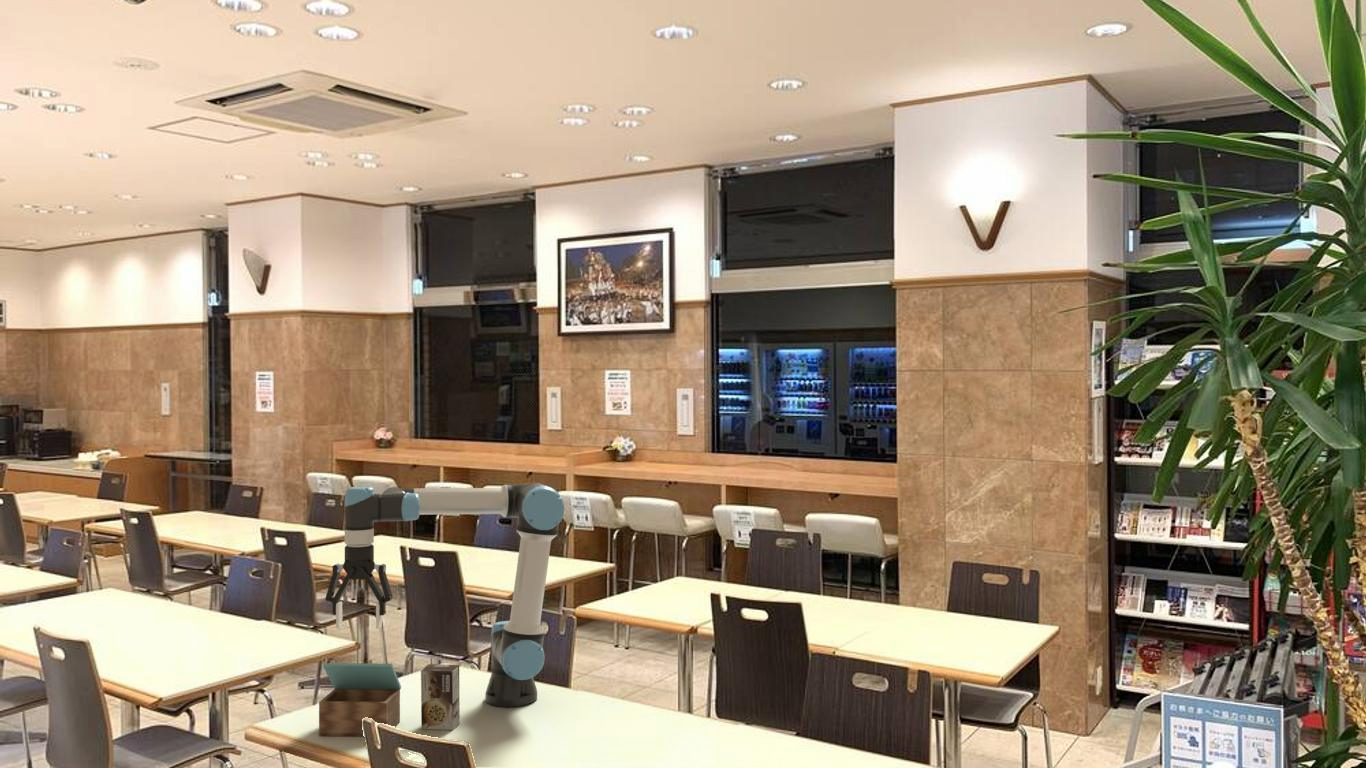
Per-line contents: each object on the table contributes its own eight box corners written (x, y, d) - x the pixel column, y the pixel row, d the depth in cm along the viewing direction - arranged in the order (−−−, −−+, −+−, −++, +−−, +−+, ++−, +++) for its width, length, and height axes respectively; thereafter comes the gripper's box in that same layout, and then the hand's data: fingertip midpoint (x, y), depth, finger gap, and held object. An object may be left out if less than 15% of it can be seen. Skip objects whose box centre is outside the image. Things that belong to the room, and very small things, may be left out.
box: (399, 721, 289) (399, 689, 289) (386, 736, 277) (386, 702, 277) (334, 721, 289) (335, 688, 289) (319, 736, 277) (319, 702, 277)
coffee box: (460, 722, 288) (460, 664, 288) (453, 730, 282) (453, 670, 282) (428, 721, 289) (428, 663, 289) (420, 729, 283) (420, 669, 283)
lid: (400, 689, 289) (401, 686, 289) (391, 666, 280) (391, 663, 281) (334, 688, 289) (335, 686, 290) (322, 665, 280) (323, 663, 281)
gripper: (405, 542, 285) (405, 624, 285) (322, 542, 286) (322, 623, 286) (397, 547, 278) (396, 630, 278) (312, 546, 278) (312, 630, 278)
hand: (359, 627), depth 282 cm, fingers open, 10 cm apart
